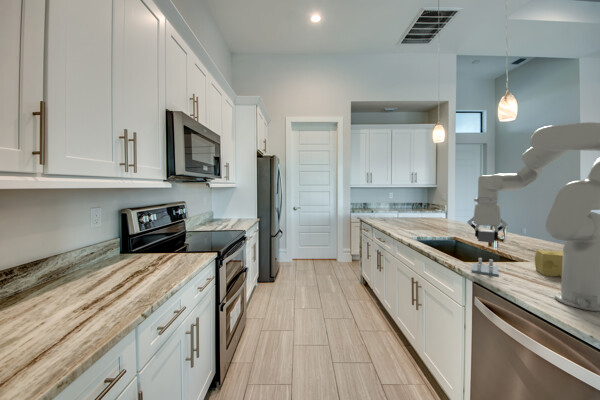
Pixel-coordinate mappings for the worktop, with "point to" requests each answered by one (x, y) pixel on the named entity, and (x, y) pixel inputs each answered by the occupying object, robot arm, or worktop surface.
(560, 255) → the cheese
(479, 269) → the grey piece
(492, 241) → the block
